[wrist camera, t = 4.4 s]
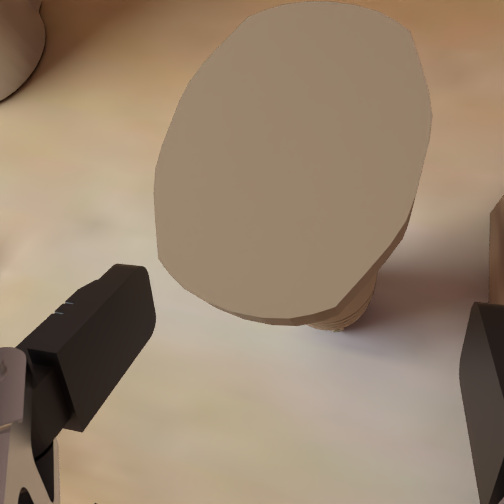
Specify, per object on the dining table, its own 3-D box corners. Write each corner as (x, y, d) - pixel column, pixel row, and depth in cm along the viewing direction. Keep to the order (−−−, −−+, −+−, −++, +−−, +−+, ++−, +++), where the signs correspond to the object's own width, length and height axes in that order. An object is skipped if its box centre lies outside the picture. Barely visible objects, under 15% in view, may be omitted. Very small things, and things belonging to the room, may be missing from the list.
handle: (266, 348, 22) (111, 276, 8) (302, 228, 24) (221, -7, 10) (365, 379, 21) (376, 354, 7) (397, 250, 22) (461, 10, 8)
